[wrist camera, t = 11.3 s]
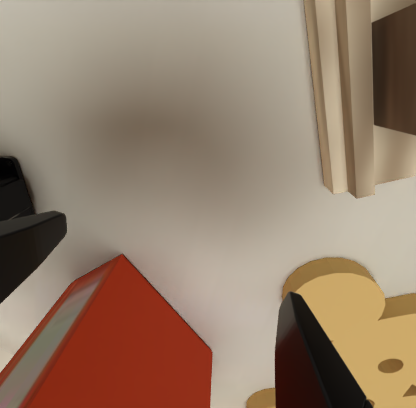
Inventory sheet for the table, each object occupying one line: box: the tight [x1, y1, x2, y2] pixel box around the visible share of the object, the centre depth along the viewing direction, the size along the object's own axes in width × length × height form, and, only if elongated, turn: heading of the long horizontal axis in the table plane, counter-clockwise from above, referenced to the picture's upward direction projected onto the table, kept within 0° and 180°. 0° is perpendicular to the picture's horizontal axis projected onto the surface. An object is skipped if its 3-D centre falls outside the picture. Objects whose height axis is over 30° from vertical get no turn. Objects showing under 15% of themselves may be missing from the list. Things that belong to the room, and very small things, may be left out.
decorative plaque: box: [247, 258, 416, 408], centre depth 30 cm, size 31×3×30 cm
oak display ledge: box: [304, 0, 416, 198], centre depth 16 cm, size 9×15×3 cm, turn 17°
